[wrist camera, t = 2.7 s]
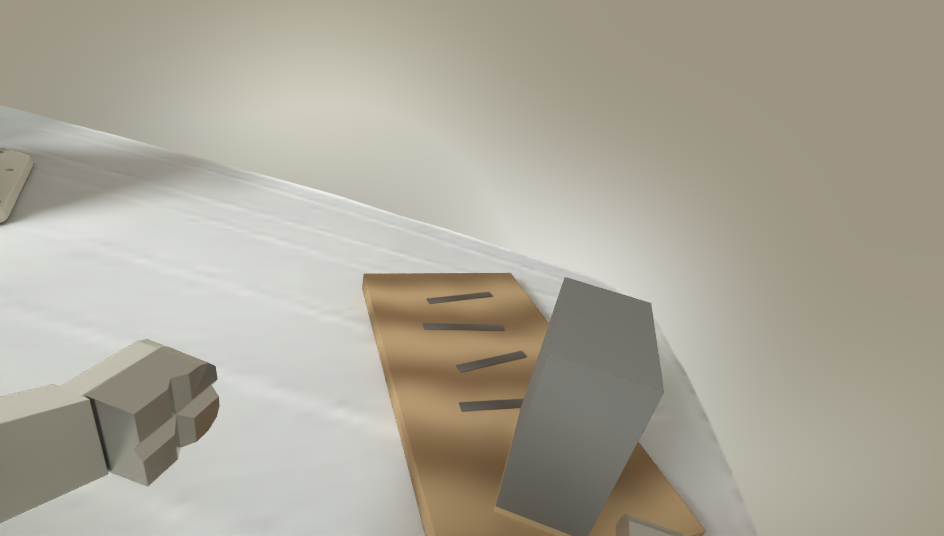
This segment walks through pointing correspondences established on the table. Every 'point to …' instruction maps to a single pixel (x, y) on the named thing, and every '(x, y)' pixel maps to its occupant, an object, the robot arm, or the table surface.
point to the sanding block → (581, 410)
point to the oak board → (480, 401)
